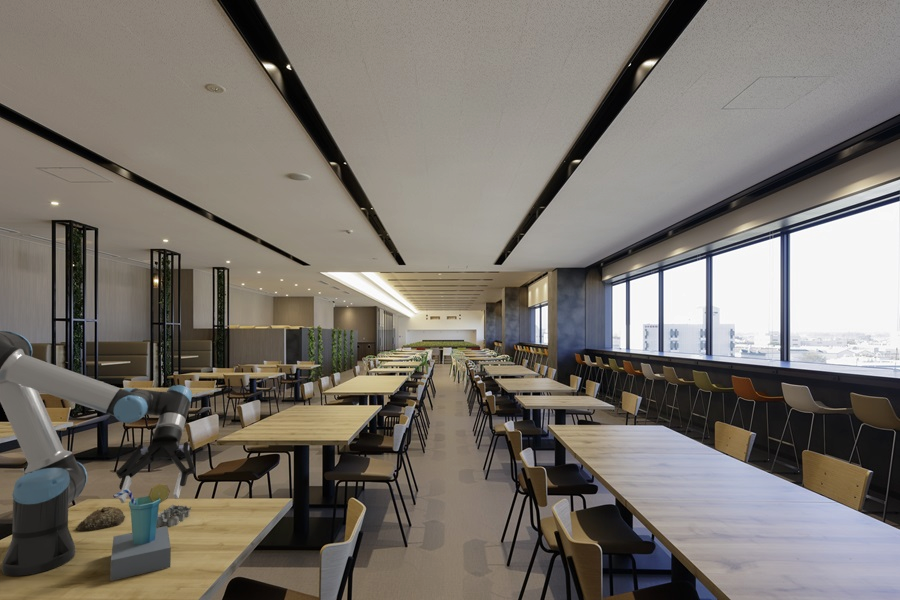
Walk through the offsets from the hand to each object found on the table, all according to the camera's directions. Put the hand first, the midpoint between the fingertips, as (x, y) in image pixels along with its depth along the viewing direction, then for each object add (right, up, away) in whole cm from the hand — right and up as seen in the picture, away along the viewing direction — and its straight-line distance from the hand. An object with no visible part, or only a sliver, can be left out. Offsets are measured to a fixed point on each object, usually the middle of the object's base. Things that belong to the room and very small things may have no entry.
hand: (148, 498), depth 138 cm
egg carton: (-7, -17, +25) cm, 31 cm away
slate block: (0, -15, -3) cm, 16 cm away
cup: (0, -11, -3) cm, 11 cm away
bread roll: (-29, -18, +24) cm, 42 cm away
